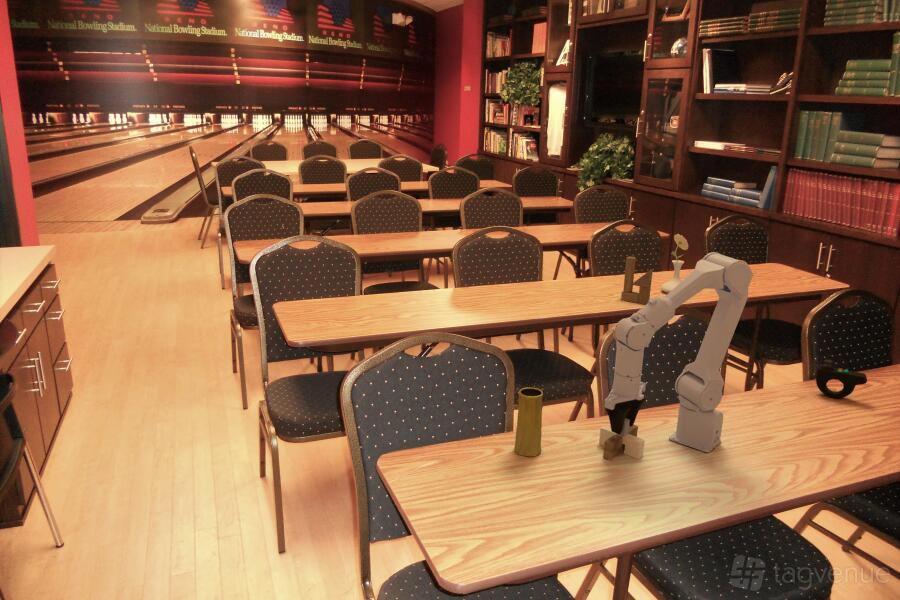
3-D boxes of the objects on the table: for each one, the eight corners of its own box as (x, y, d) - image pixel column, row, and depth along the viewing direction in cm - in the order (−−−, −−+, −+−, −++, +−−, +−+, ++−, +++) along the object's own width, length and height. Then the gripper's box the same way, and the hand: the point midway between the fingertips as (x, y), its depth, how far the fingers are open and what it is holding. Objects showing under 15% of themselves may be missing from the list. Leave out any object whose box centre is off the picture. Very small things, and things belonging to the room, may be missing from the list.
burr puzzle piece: (599, 443, 154) (601, 413, 151) (603, 440, 155) (606, 411, 153) (638, 459, 147) (641, 428, 145) (642, 456, 148) (646, 425, 146)
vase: (509, 446, 151) (512, 388, 148) (533, 442, 154) (537, 385, 150) (521, 459, 146) (524, 399, 142) (546, 454, 148) (550, 395, 144)
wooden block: (646, 305, 265) (650, 261, 260) (620, 300, 271) (624, 257, 266) (649, 303, 268) (654, 259, 263) (624, 298, 274) (628, 255, 269)
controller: (811, 389, 186) (817, 356, 184) (862, 400, 180) (869, 365, 177) (810, 394, 183) (816, 360, 180) (862, 405, 177) (869, 370, 174)
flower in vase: (692, 296, 279) (699, 238, 272) (664, 296, 279) (671, 237, 272) (682, 288, 291) (689, 232, 284) (656, 288, 291) (662, 231, 285)
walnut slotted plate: (628, 438, 156) (630, 423, 155) (636, 441, 155) (638, 426, 154) (603, 457, 147) (604, 441, 146) (611, 460, 146) (612, 444, 145)
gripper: (627, 386, 138) (621, 445, 142) (660, 368, 148) (654, 424, 152) (598, 377, 143) (593, 434, 147) (631, 360, 153) (626, 414, 157)
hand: (622, 428), depth 150 cm, fingers open, 5 cm apart
